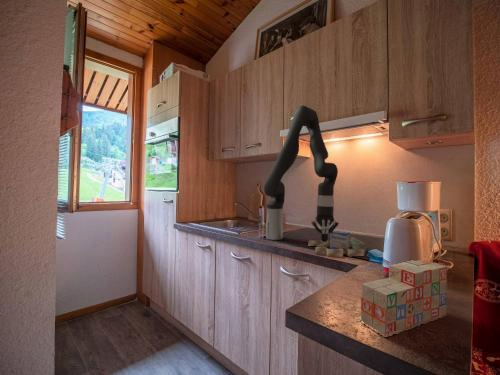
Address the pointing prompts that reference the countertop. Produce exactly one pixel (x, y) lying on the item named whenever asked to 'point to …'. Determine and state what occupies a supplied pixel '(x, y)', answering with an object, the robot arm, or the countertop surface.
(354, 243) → the frame
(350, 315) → the countertop surface
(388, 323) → the stack of blocks
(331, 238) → the medicine box
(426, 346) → the countertop surface
